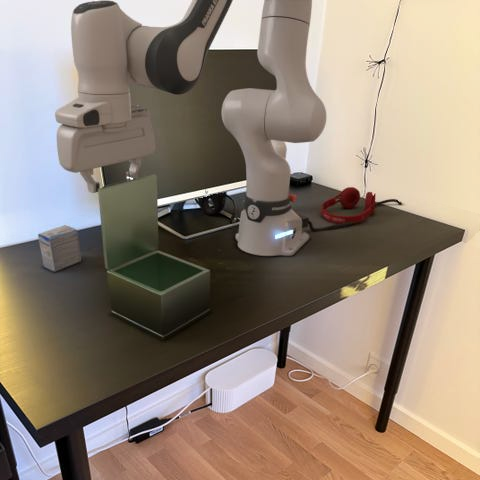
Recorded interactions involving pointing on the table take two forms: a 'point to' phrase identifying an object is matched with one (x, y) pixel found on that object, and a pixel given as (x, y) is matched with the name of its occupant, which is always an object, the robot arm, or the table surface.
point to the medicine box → (59, 247)
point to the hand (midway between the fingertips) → (114, 186)
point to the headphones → (349, 206)
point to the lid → (129, 219)
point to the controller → (217, 201)
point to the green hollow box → (159, 293)
